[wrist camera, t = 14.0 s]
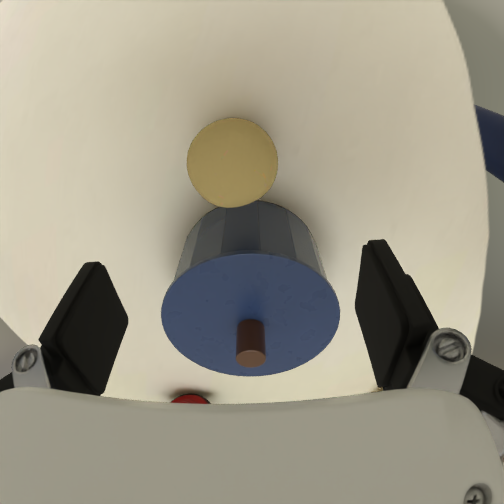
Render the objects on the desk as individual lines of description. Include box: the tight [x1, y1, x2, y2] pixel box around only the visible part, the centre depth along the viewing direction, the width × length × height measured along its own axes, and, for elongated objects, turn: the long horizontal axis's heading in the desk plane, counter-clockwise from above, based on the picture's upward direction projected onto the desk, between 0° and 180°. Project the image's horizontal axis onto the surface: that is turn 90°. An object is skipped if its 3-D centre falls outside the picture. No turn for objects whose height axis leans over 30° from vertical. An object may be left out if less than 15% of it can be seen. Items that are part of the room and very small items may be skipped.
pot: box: [174, 201, 327, 280], centre depth 31 cm, size 15×15×10 cm
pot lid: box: [161, 250, 340, 376], centre depth 26 cm, size 16×16×4 cm
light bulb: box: [187, 118, 278, 208], centre depth 23 cm, size 6×6×10 cm
